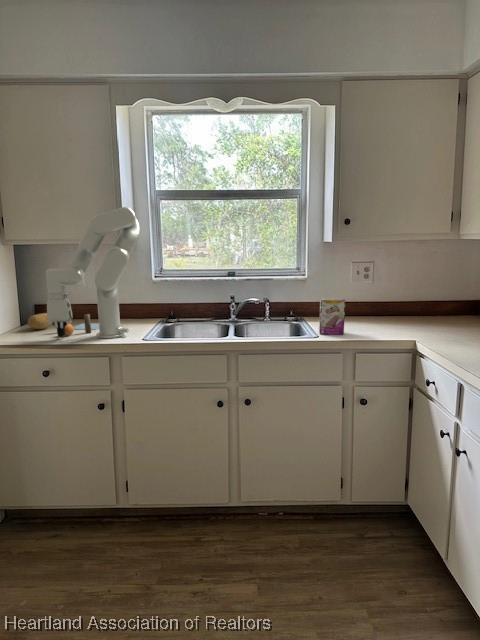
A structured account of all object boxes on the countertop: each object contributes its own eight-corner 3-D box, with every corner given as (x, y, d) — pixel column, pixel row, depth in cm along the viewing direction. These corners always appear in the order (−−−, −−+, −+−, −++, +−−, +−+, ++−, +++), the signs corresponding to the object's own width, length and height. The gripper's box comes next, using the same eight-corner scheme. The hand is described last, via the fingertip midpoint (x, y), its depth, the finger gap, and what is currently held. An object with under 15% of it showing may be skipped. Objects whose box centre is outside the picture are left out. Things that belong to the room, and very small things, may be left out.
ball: (70, 326, 201) (72, 337, 204) (74, 320, 207) (76, 332, 209) (56, 326, 201) (59, 338, 204) (61, 321, 207) (63, 332, 209)
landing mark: (107, 324, 232) (107, 323, 232) (95, 329, 218) (95, 329, 218) (82, 323, 233) (82, 323, 233) (69, 329, 220) (69, 328, 220)
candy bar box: (319, 334, 201) (320, 299, 198) (318, 332, 206) (319, 298, 203) (344, 335, 200) (345, 299, 197) (342, 332, 205) (344, 298, 202)
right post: (92, 332, 212) (90, 314, 211) (89, 333, 210) (88, 315, 208) (87, 332, 213) (85, 314, 211) (84, 333, 210) (83, 315, 208)
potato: (58, 326, 228) (57, 311, 226) (41, 332, 214) (40, 316, 213) (41, 325, 229) (40, 310, 228) (24, 331, 216) (22, 315, 214)
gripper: (77, 295, 198) (81, 334, 202) (46, 295, 200) (50, 334, 203) (69, 297, 191) (73, 338, 194) (37, 297, 193) (41, 338, 196)
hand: (61, 336), depth 199 cm, fingers closed
